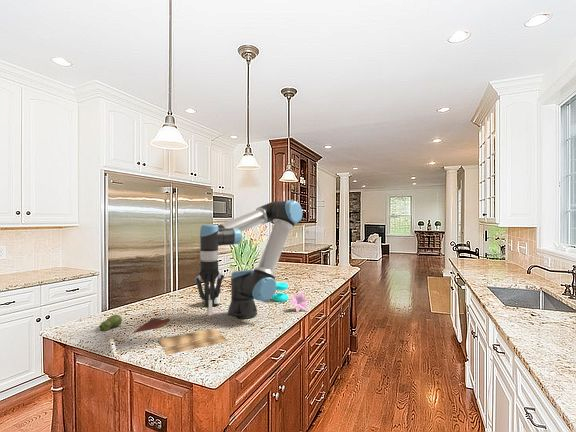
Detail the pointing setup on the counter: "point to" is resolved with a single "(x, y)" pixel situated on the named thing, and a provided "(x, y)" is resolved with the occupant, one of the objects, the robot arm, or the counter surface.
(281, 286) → the donuts
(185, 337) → the plank
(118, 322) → the pear
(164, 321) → the wooden tablet
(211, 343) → the laid boards
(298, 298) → the lily
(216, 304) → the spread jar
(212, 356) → the counter surface
